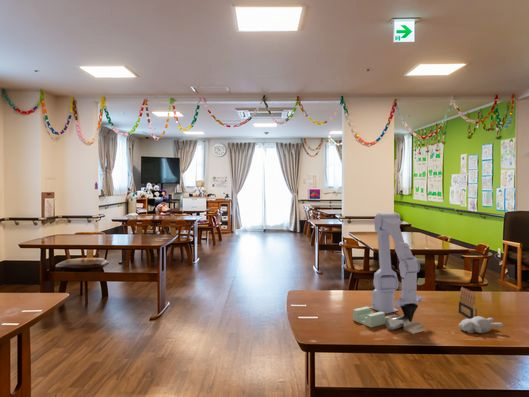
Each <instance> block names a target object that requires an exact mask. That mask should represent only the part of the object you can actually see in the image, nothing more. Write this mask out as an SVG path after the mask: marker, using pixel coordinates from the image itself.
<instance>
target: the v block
mask: <svg viewBox="0 0 529 397" xmlns="http://www.w3.org/2000/svg"><path fill="white" fill-rule="evenodd" d="M371 310H372V308H371V306H363V307H358V308H354V309H352V311H353V312H352V321H354V322H357V323H358V324H359V323H360V324H362V325H364V326H367V327H369V328H374V327H378V326H382V325H386V323H385V316H386V313H384V312H380V311H377V312H373V311H371Z"/></svg>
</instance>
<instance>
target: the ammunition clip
mask: <svg viewBox="0 0 529 397" xmlns="http://www.w3.org/2000/svg"><path fill="white" fill-rule="evenodd" d="M459 294H460V295H459V301H458V314H460V315H462V316H463V317H465V318H466V319H472V318H473V317H476V316H478V315H477V314H478V313H477V310H478V309H477V307H476V306H477V300H476V294H475V291H472V290H471V291H470V289H468V288H466V287H463V286H461V288H460V293H459Z"/></svg>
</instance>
